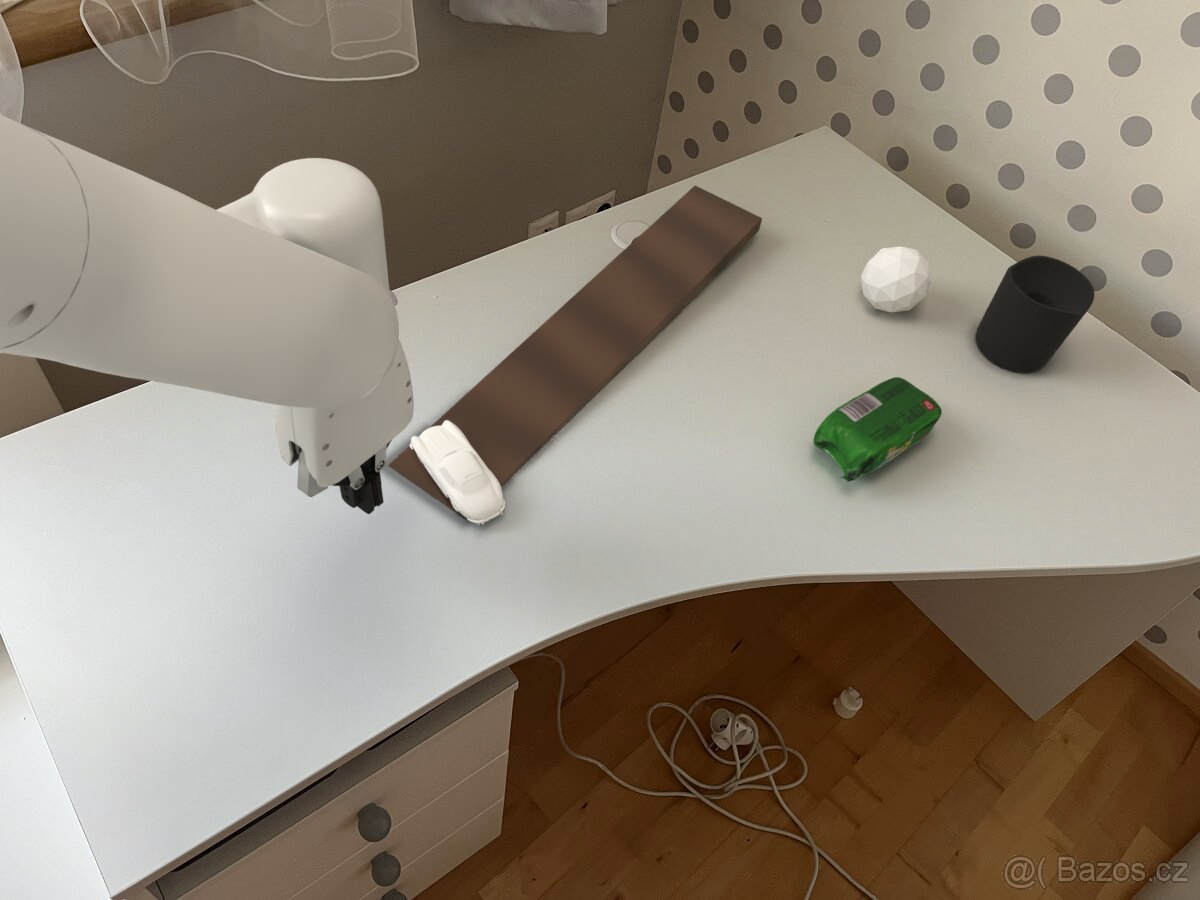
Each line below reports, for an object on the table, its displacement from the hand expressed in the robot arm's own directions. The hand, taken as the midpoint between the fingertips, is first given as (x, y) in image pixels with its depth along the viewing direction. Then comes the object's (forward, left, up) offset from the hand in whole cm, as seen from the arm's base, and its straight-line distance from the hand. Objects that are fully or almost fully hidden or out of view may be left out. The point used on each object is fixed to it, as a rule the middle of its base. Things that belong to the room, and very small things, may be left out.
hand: (363, 499), depth 75 cm
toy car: (+10, -1, -7) cm, 13 cm away
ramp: (+35, 0, -9) cm, 36 cm away
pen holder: (+66, -38, -7) cm, 77 cm away
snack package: (+41, -31, -7) cm, 52 cm away
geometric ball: (+63, -23, -7) cm, 67 cm away
